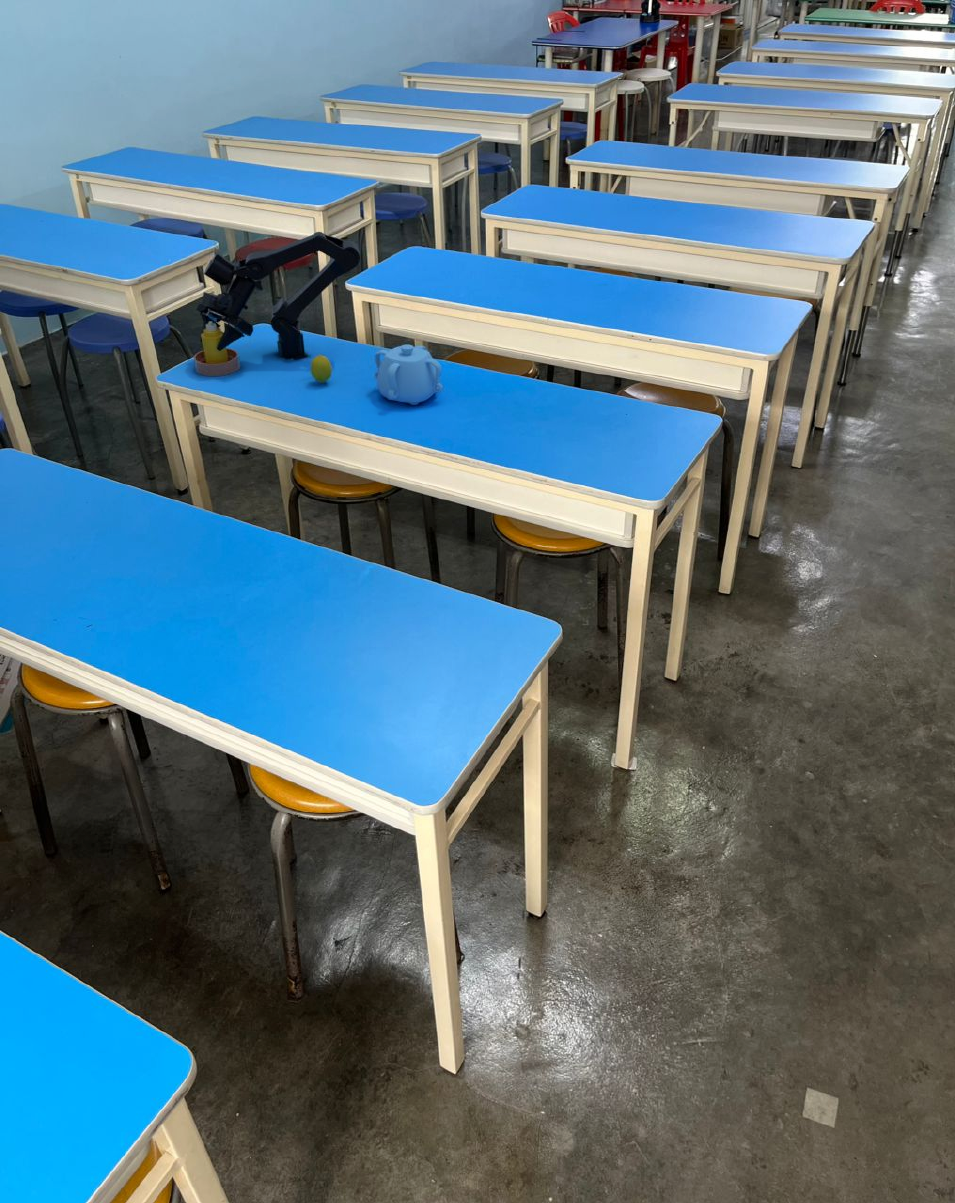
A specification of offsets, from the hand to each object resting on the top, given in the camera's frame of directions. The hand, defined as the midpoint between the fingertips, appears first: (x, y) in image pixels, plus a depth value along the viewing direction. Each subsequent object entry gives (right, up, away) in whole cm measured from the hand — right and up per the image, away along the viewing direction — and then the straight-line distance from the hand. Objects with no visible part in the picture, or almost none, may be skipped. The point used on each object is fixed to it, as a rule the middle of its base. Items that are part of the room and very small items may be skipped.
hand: (209, 346), depth 256 cm
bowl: (+1, -5, +5) cm, 7 cm away
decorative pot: (+55, -15, -8) cm, 57 cm away
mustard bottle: (+1, -5, +5) cm, 7 cm away
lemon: (+31, -11, -2) cm, 33 cm away
